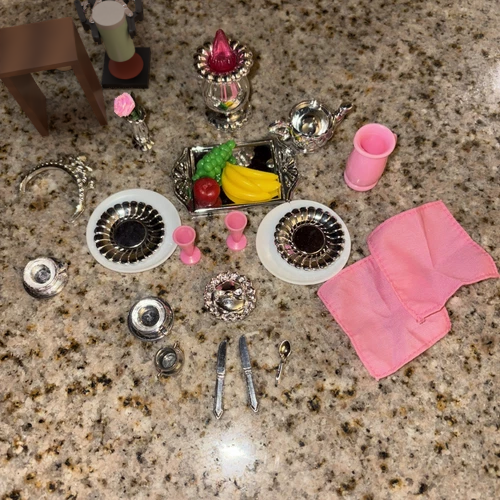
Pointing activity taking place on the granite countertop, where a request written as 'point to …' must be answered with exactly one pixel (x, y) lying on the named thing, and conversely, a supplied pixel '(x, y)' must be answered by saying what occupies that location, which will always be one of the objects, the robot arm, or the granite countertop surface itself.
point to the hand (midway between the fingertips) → (115, 38)
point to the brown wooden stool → (46, 66)
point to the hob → (127, 70)
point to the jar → (114, 30)
